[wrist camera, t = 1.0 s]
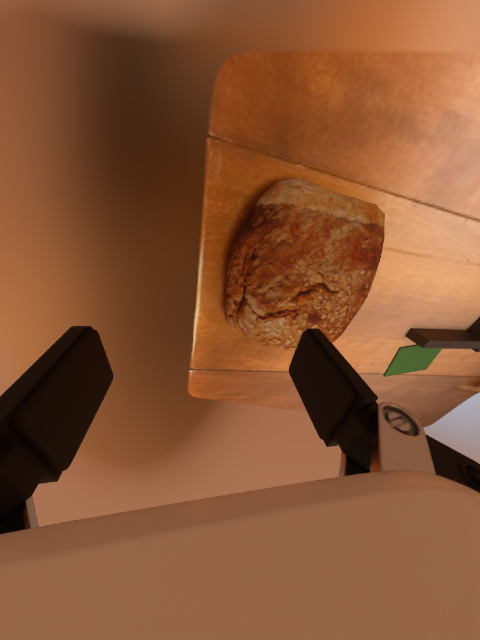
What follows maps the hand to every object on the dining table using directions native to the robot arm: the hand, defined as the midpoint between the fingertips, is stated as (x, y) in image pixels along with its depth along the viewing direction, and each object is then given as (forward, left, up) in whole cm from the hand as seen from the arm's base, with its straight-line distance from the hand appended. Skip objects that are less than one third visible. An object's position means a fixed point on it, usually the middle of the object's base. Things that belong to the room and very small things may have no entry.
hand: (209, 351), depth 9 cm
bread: (0, +13, -19) cm, 23 cm away
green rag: (+20, +51, -19) cm, 58 cm away
